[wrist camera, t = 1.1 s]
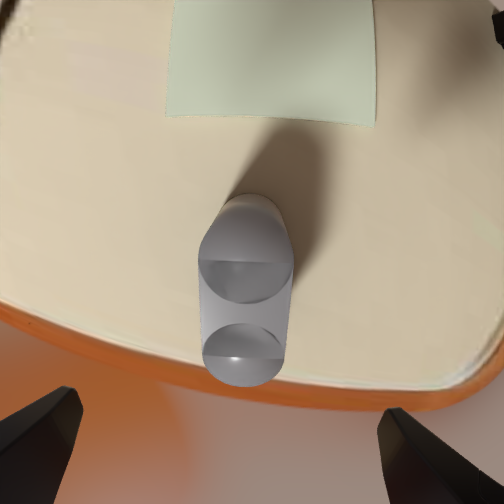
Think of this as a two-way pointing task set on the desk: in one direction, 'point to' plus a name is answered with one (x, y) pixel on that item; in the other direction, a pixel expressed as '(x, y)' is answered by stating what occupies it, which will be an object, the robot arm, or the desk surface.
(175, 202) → the desk surface
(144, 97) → the desk surface
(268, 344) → the rounded connector
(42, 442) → the robot arm
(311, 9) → the sage pad
